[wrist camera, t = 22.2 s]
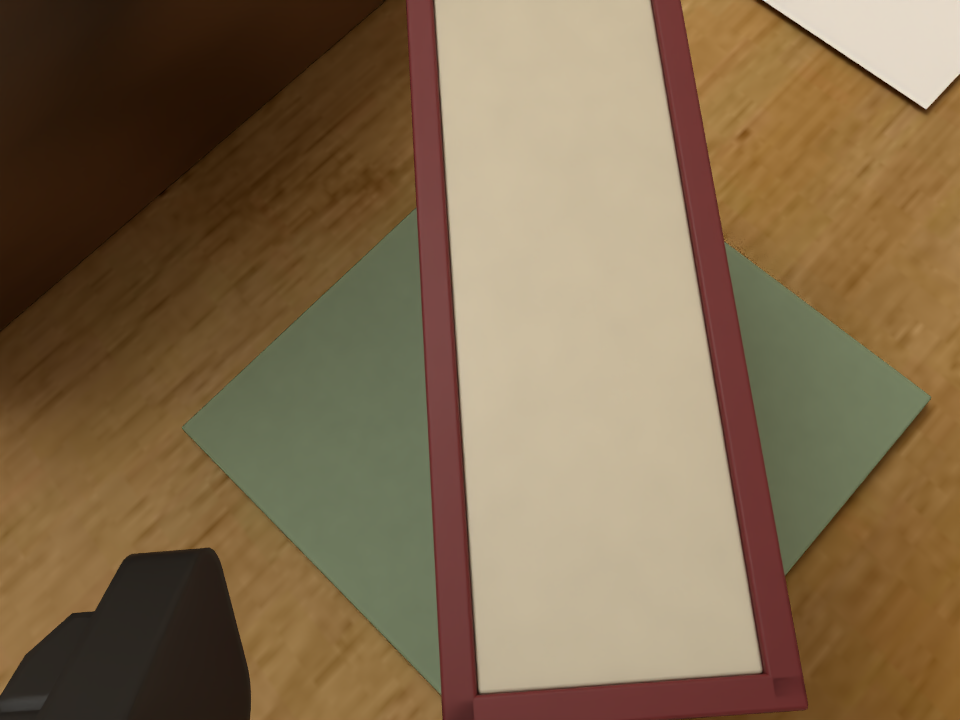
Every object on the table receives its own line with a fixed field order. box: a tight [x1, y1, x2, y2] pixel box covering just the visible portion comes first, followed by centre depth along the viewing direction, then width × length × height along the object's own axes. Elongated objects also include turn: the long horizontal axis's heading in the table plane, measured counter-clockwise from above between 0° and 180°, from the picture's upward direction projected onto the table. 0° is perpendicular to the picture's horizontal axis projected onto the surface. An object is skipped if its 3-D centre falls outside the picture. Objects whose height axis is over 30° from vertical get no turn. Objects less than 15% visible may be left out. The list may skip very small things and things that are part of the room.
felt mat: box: [182, 207, 931, 694], centre depth 21 cm, size 12×12×1 cm
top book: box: [406, 0, 808, 720], centre depth 16 cm, size 12×4×9 cm, turn 4°
